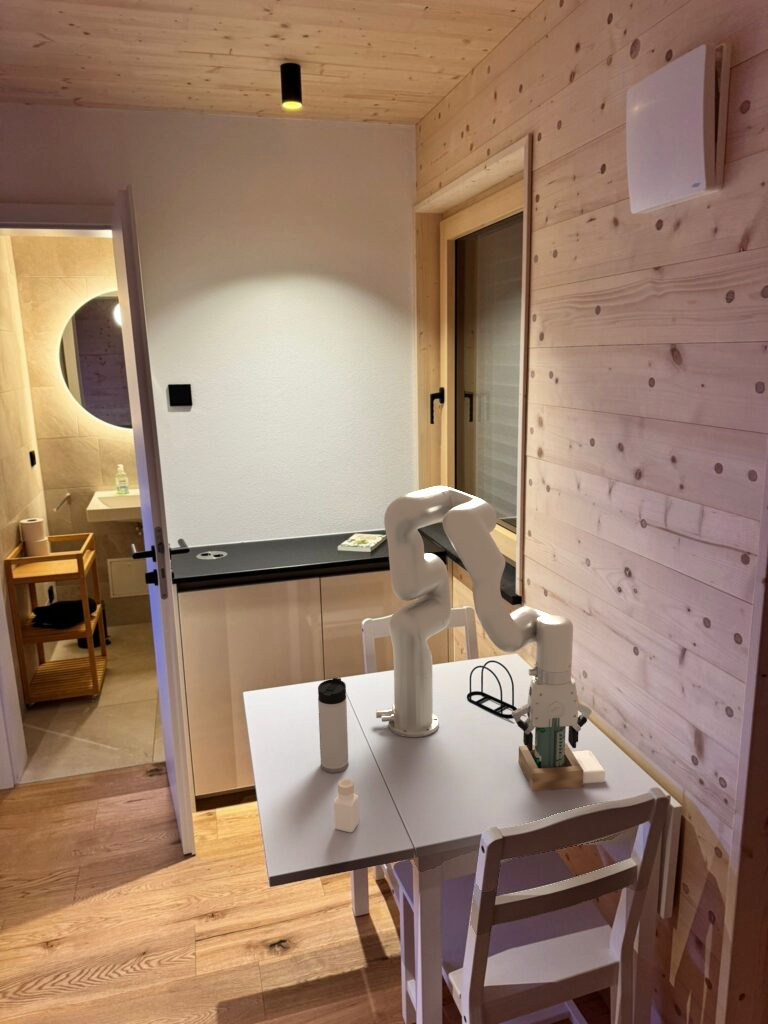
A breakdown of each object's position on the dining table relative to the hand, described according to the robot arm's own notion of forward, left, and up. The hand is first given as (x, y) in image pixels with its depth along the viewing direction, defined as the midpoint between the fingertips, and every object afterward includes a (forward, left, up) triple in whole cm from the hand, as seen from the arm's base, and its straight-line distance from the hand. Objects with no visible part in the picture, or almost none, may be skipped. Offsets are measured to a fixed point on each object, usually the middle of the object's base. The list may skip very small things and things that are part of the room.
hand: (550, 746), depth 159 cm
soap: (+8, 0, -7) cm, 11 cm away
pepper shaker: (-45, -13, -7) cm, 47 cm away
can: (0, 0, -7) cm, 7 cm away
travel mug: (-47, +9, -7) cm, 48 cm away
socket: (0, 0, -7) cm, 7 cm away
